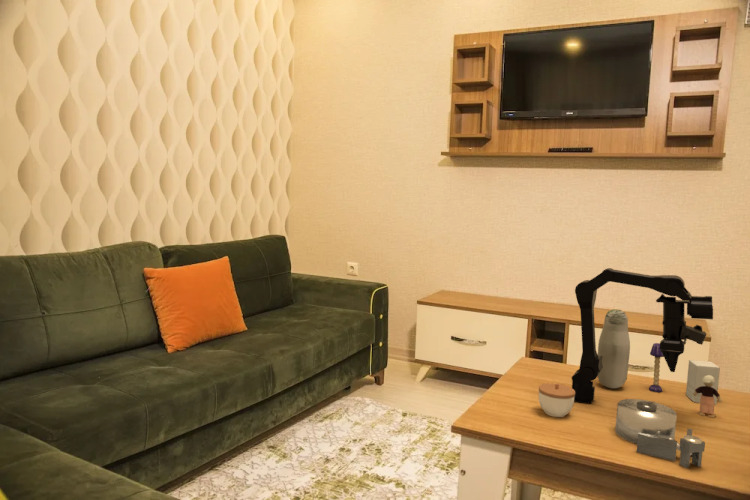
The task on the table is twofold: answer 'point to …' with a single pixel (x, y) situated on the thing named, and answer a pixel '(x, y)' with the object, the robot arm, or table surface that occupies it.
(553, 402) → the lidded jar
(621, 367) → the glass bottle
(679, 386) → the table surface
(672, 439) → the dial plunger
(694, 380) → the supplement box
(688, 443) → the centering jig
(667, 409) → the cover
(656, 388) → the toy lamp
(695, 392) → the grandmother figurine
